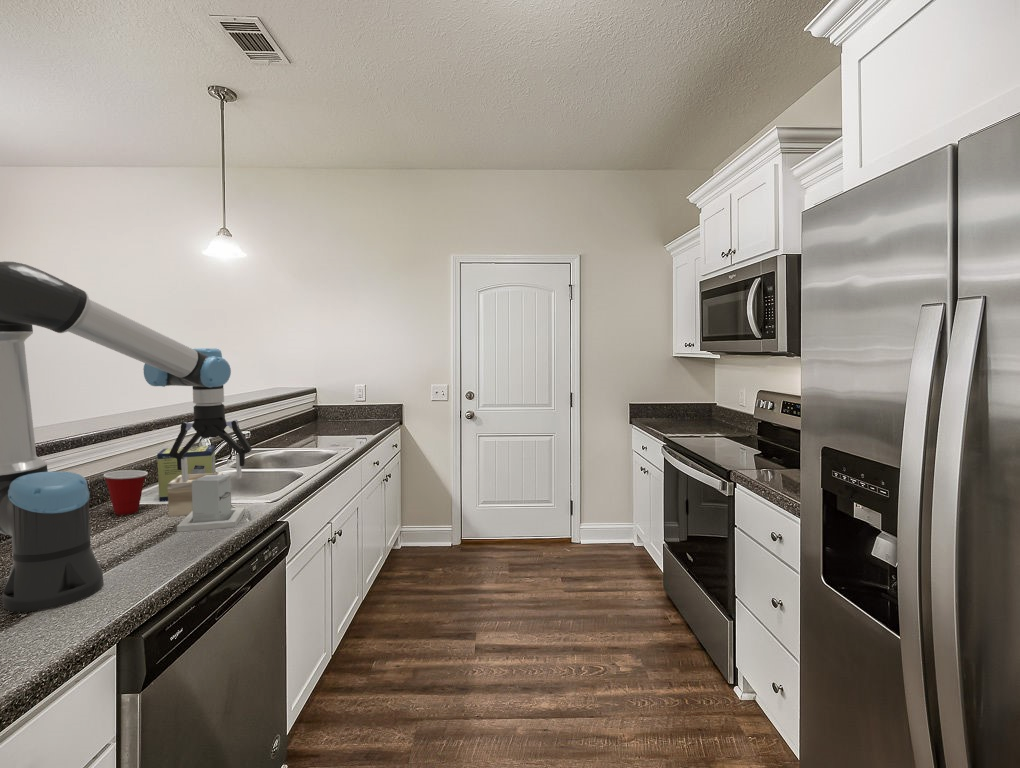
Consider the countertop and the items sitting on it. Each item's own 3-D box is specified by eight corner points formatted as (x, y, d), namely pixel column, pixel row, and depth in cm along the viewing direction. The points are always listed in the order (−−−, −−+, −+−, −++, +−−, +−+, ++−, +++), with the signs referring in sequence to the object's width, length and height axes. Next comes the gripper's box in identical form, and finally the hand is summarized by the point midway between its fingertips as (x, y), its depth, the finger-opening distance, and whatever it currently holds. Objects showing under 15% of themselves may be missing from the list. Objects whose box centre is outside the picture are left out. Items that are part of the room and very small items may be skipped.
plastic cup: (145, 515, 158) (143, 474, 157) (100, 519, 154) (98, 477, 153) (153, 505, 168) (151, 467, 167) (111, 509, 164) (109, 470, 163)
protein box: (164, 494, 181) (162, 448, 180) (217, 489, 187) (215, 445, 186) (158, 502, 172) (156, 453, 171) (213, 497, 178) (212, 450, 177)
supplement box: (218, 526, 148) (217, 480, 147) (191, 526, 148) (190, 480, 147) (232, 517, 156) (231, 474, 155) (207, 517, 156) (205, 474, 155)
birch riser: (214, 512, 160) (213, 481, 159) (168, 516, 157) (167, 483, 156) (224, 502, 172) (223, 472, 171) (181, 505, 168) (180, 474, 168)
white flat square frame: (235, 527, 147) (235, 521, 147) (176, 531, 143) (176, 526, 143) (244, 512, 160) (244, 507, 160) (191, 516, 157) (191, 511, 156)
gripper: (260, 401, 157) (263, 473, 158) (162, 404, 150) (166, 479, 152) (255, 403, 150) (258, 479, 151) (152, 407, 143) (157, 486, 144)
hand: (212, 479), depth 151 cm, fingers open, 13 cm apart
